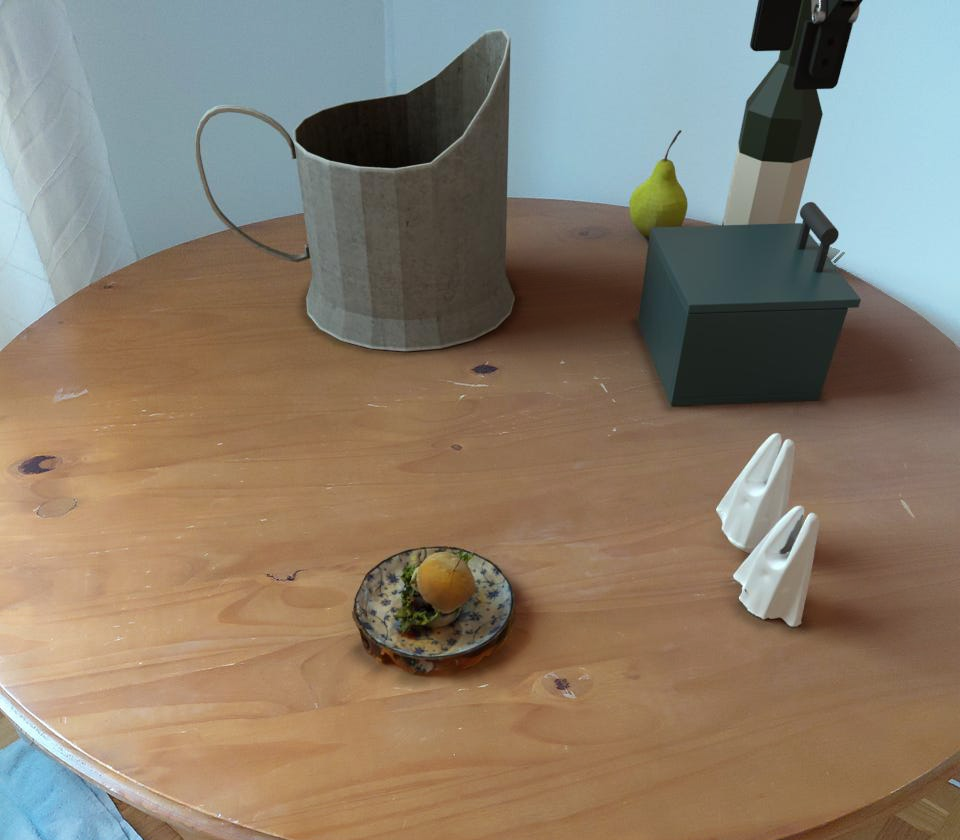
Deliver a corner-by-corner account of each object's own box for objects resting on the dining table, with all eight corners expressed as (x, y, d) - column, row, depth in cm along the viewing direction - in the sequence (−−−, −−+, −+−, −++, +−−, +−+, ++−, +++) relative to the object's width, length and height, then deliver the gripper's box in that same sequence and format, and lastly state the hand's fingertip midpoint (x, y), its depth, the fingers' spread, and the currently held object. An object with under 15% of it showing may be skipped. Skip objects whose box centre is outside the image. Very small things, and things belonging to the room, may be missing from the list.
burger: (467, 544, 71) (466, 467, 66) (545, 638, 64) (552, 560, 59) (329, 595, 67) (315, 517, 62) (396, 700, 60) (388, 623, 55)
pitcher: (532, 341, 94) (545, 68, 75) (226, 366, 90) (162, 86, 72) (493, 248, 109) (497, 3, 91) (232, 266, 106) (180, 15, 87)
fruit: (640, 252, 109) (654, 145, 100) (616, 230, 113) (628, 125, 104) (690, 244, 110) (709, 138, 101) (665, 222, 115) (680, 119, 106)
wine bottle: (771, 284, 103) (850, -37, 81) (703, 267, 106) (762, -47, 84) (793, 257, 108) (875, -52, 86) (728, 242, 111) (790, -61, 89)
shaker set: (710, 524, 73) (738, 406, 65) (760, 522, 73) (795, 405, 65) (747, 628, 65) (785, 509, 57) (803, 626, 65) (849, 507, 57)
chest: (768, 318, 97) (790, 231, 90) (819, 400, 86) (848, 308, 79) (637, 322, 96) (649, 235, 90) (670, 406, 85) (687, 314, 78)
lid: (799, 230, 90) (812, 179, 87) (858, 307, 79) (876, 252, 76) (649, 235, 90) (656, 183, 86) (687, 313, 78) (697, 258, 75)
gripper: (991, -253, 48) (885, 103, 60) (868, -264, 60) (800, 36, 72) (857, -253, 47) (778, 106, 60) (759, -264, 59) (710, 38, 72)
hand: (790, 67), depth 66 cm, fingers open, 9 cm apart
